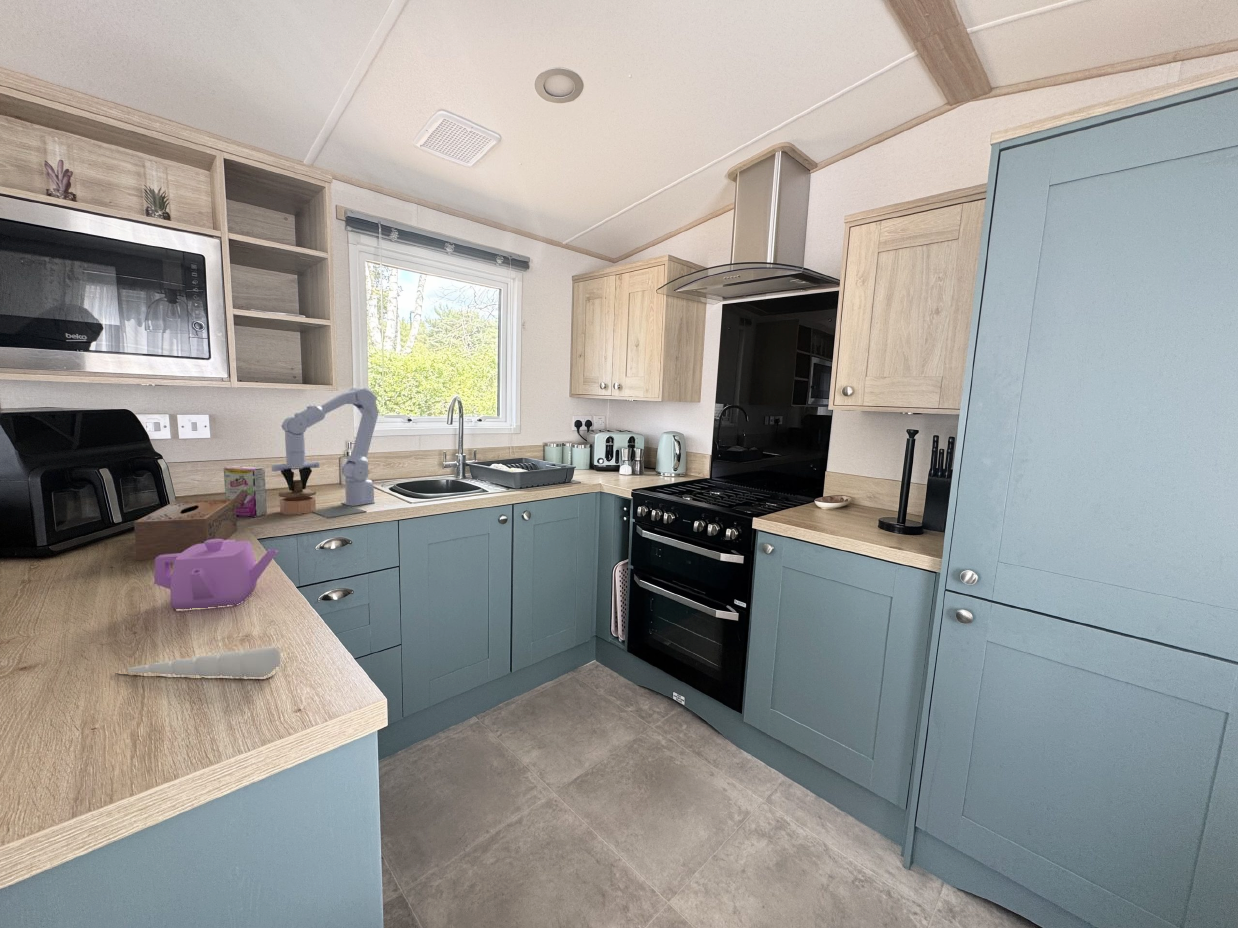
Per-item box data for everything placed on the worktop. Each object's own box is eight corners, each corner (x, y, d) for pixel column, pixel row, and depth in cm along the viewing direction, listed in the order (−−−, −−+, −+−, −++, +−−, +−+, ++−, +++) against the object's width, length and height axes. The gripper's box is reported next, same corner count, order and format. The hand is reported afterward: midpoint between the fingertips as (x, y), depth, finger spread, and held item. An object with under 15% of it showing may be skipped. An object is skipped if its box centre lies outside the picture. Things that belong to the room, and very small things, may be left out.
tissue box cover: (177, 534, 152) (175, 501, 151) (237, 531, 158) (235, 498, 157) (137, 561, 129) (133, 522, 128) (208, 556, 134) (206, 518, 133)
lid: (307, 490, 191) (307, 476, 191) (321, 494, 185) (321, 480, 184) (273, 494, 183) (272, 480, 182) (286, 498, 176) (285, 484, 175)
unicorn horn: (137, 662, 83) (134, 634, 82) (284, 669, 82) (283, 641, 82) (107, 679, 78) (104, 649, 77) (263, 686, 78) (261, 656, 77)
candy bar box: (225, 515, 174) (222, 467, 172) (237, 512, 179) (234, 465, 177) (256, 517, 173) (253, 469, 171) (267, 514, 178) (265, 467, 176)
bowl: (307, 506, 191) (306, 494, 191) (319, 511, 185) (319, 498, 185) (276, 511, 183) (276, 498, 183) (288, 515, 177) (287, 502, 177)
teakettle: (234, 578, 120) (230, 526, 118) (284, 590, 113) (282, 535, 112) (144, 604, 104) (138, 544, 102) (197, 621, 98) (192, 557, 96)
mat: (348, 506, 194) (348, 505, 194) (366, 512, 186) (366, 511, 186) (311, 512, 184) (311, 510, 184) (328, 518, 176) (328, 517, 176)
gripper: (312, 449, 190) (314, 485, 192) (267, 451, 178) (269, 490, 180) (321, 450, 186) (323, 488, 187) (275, 453, 174) (277, 493, 176)
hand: (297, 489), depth 183 cm, fingers closed on lid, 3 cm apart
